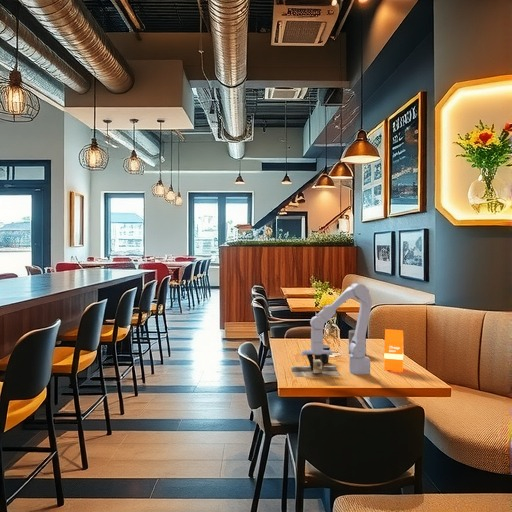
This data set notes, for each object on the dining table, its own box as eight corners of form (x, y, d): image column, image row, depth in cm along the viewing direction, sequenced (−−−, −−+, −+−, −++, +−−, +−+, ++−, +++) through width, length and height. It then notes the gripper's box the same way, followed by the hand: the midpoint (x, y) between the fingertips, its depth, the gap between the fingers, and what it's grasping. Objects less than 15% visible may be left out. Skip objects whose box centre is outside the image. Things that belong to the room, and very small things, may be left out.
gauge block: (319, 369, 221) (319, 359, 221) (323, 374, 213) (323, 363, 213) (311, 370, 221) (311, 359, 221) (314, 374, 213) (314, 363, 213)
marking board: (335, 372, 224) (335, 365, 224) (341, 379, 212) (341, 372, 212) (291, 373, 222) (291, 366, 222) (295, 380, 210) (295, 372, 210)
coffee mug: (320, 362, 244) (320, 343, 244) (333, 365, 238) (333, 346, 238) (306, 366, 236) (306, 347, 236) (319, 369, 230) (319, 349, 229)
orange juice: (402, 371, 225) (402, 331, 225) (384, 370, 228) (384, 330, 228) (403, 368, 233) (403, 329, 232) (385, 366, 236) (385, 328, 235)
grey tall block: (360, 352, 269) (359, 327, 269) (369, 355, 260) (369, 329, 259) (345, 353, 266) (345, 328, 266) (354, 357, 256) (354, 330, 256)
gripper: (329, 339, 222) (329, 367, 222) (300, 340, 221) (300, 368, 221) (333, 342, 215) (333, 371, 215) (303, 343, 214) (302, 371, 214)
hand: (316, 370), depth 218 cm, fingers closed on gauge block, 4 cm apart
